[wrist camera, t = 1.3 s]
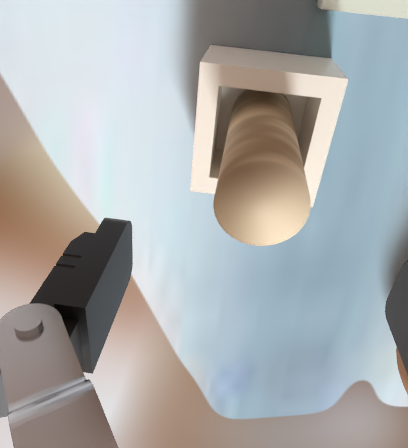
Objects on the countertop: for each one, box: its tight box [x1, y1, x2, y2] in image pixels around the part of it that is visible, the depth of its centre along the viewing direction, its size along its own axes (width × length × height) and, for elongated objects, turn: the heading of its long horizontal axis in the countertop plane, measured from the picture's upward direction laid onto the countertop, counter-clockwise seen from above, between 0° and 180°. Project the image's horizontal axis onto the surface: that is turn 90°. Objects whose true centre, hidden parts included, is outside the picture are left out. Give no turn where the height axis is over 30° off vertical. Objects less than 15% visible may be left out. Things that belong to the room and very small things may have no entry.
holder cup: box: [190, 45, 348, 207], centre depth 22 cm, size 7×7×5 cm
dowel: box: [214, 89, 311, 246], centre depth 19 cm, size 4×4×11 cm
